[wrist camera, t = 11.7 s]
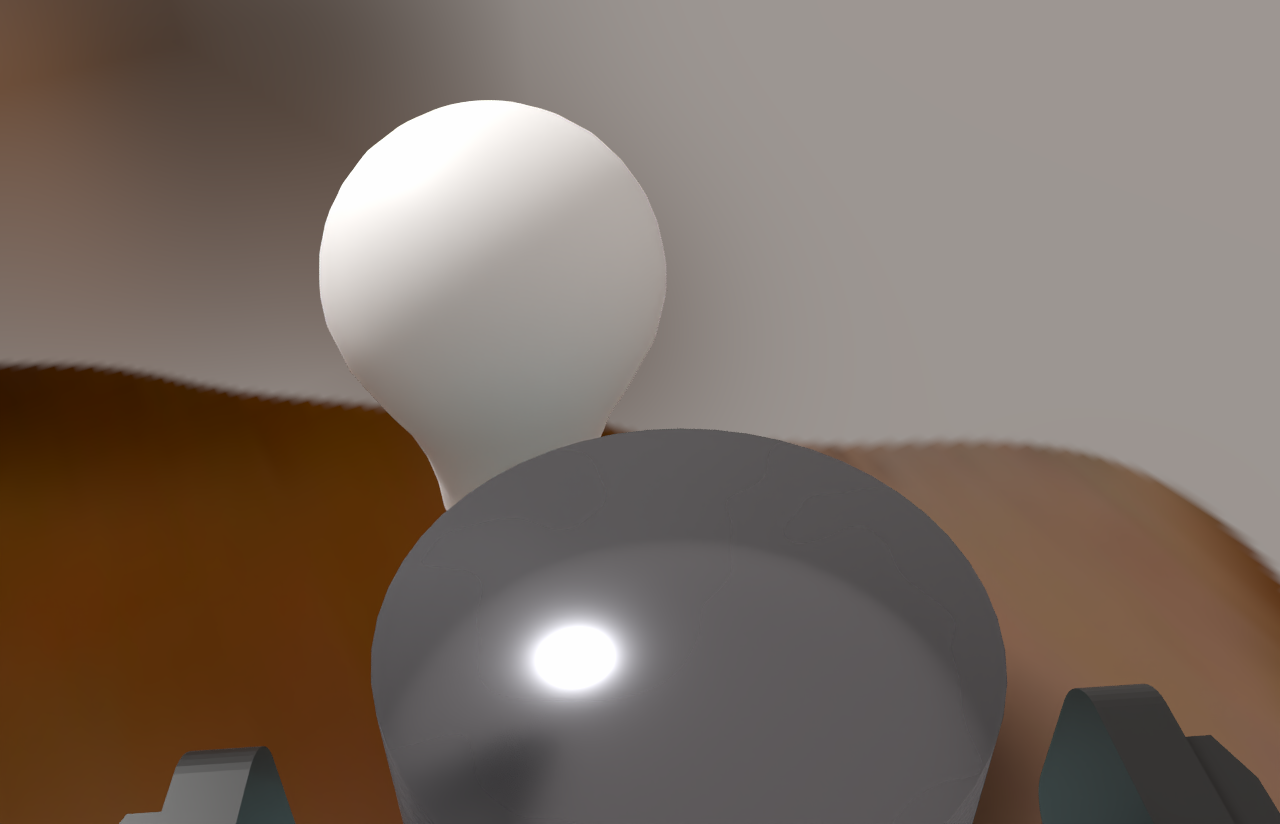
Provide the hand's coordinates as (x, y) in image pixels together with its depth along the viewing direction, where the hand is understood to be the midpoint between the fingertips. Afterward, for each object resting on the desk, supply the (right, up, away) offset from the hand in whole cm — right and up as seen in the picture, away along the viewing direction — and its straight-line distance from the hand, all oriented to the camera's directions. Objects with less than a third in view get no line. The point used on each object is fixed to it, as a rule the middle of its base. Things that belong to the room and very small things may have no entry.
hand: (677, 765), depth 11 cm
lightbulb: (-3, -1, +13) cm, 14 cm away
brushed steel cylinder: (0, -7, +4) cm, 8 cm away
